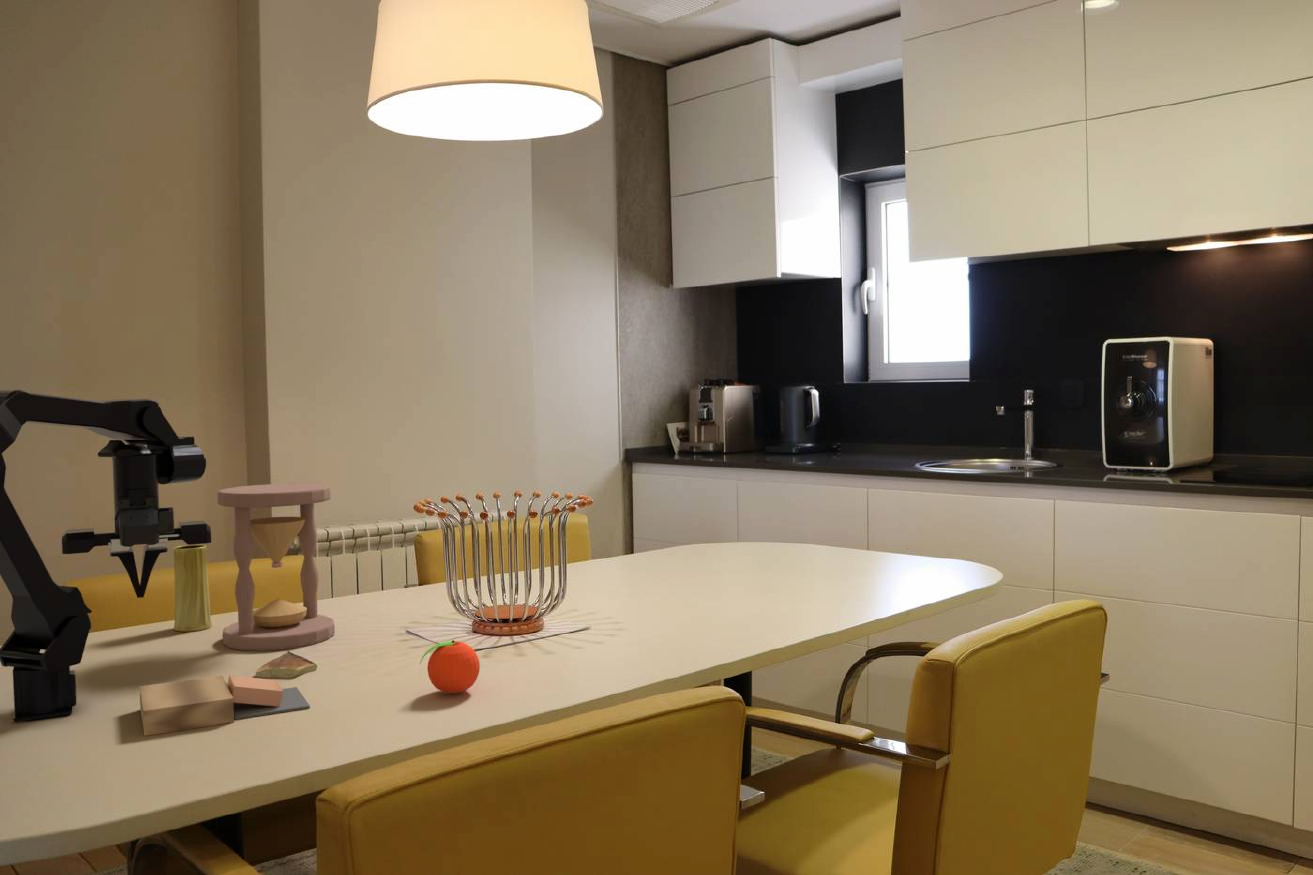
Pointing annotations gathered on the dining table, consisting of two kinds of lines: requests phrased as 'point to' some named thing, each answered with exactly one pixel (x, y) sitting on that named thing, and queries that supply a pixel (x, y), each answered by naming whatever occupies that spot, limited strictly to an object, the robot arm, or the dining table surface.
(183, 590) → the vase
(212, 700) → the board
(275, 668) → the shard
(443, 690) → the clementine
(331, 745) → the dining table surface
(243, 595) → the hourglass
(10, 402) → the robot arm
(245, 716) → the mat
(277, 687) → the pink square block
